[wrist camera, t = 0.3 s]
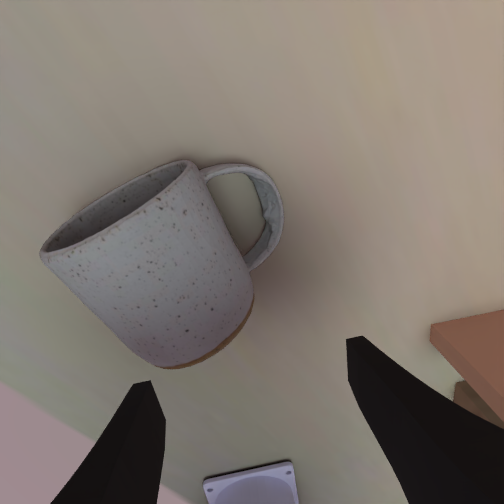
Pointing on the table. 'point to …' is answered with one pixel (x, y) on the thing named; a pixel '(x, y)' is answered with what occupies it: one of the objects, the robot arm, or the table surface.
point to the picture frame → (476, 353)
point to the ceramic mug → (165, 262)
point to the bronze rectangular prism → (475, 403)
